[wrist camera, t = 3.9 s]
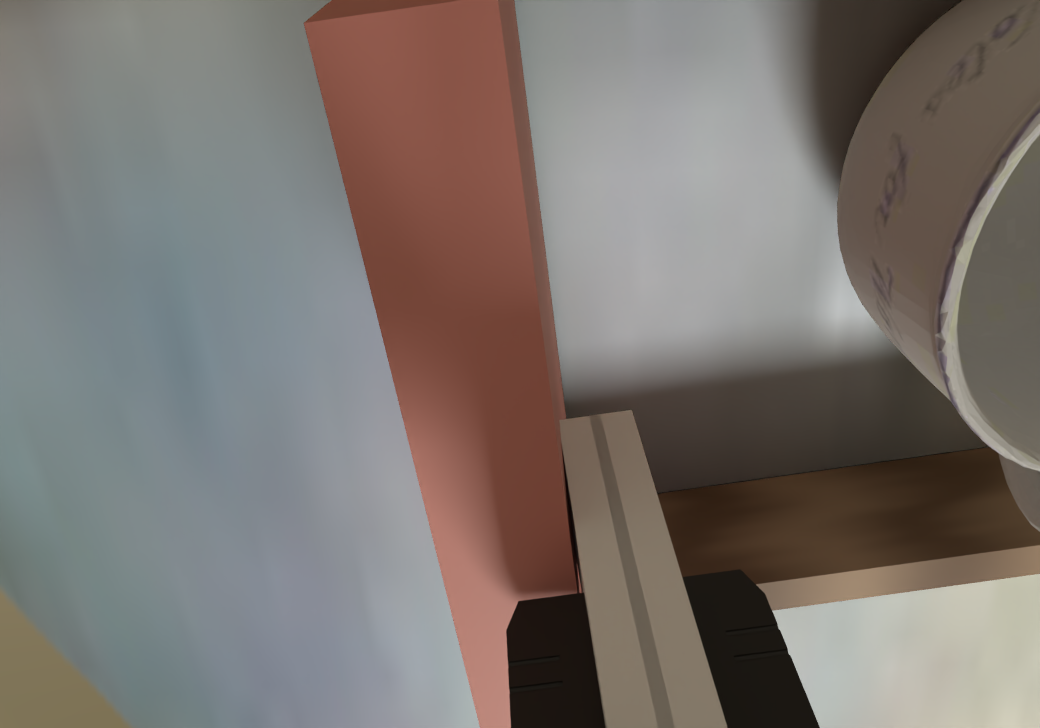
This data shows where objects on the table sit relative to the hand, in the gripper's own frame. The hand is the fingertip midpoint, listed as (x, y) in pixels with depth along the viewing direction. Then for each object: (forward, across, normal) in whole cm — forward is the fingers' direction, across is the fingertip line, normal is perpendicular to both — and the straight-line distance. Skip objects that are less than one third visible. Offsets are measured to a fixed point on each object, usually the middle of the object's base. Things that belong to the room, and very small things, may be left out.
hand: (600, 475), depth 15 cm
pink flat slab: (+9, +2, 0) cm, 10 cm away
